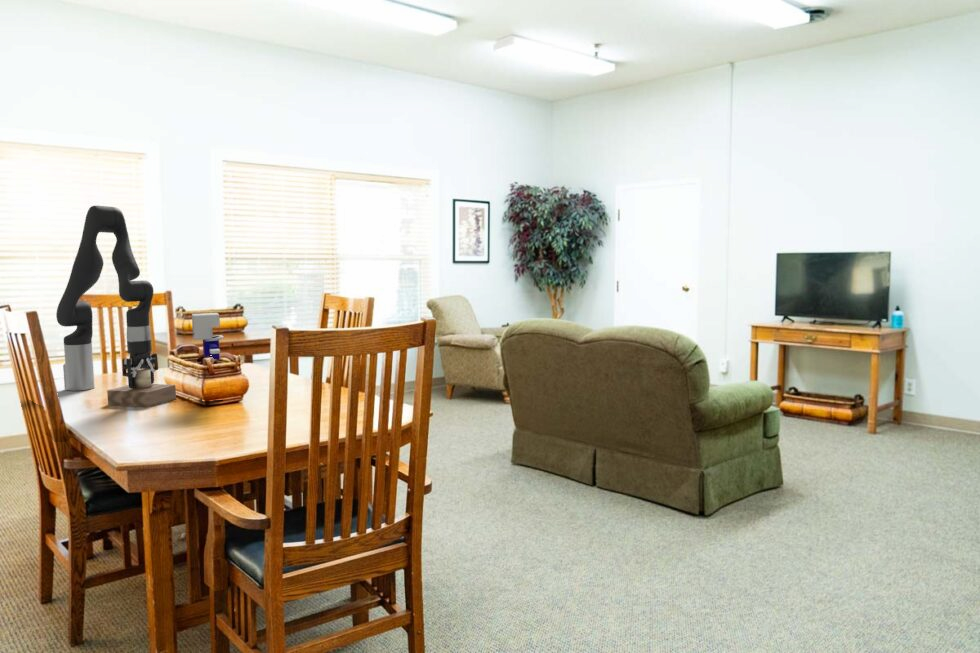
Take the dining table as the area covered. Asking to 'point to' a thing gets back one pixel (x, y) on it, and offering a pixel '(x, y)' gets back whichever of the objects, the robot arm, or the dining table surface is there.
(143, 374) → the peg
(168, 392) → the grey wooden block
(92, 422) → the dining table surface
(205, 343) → the toy
